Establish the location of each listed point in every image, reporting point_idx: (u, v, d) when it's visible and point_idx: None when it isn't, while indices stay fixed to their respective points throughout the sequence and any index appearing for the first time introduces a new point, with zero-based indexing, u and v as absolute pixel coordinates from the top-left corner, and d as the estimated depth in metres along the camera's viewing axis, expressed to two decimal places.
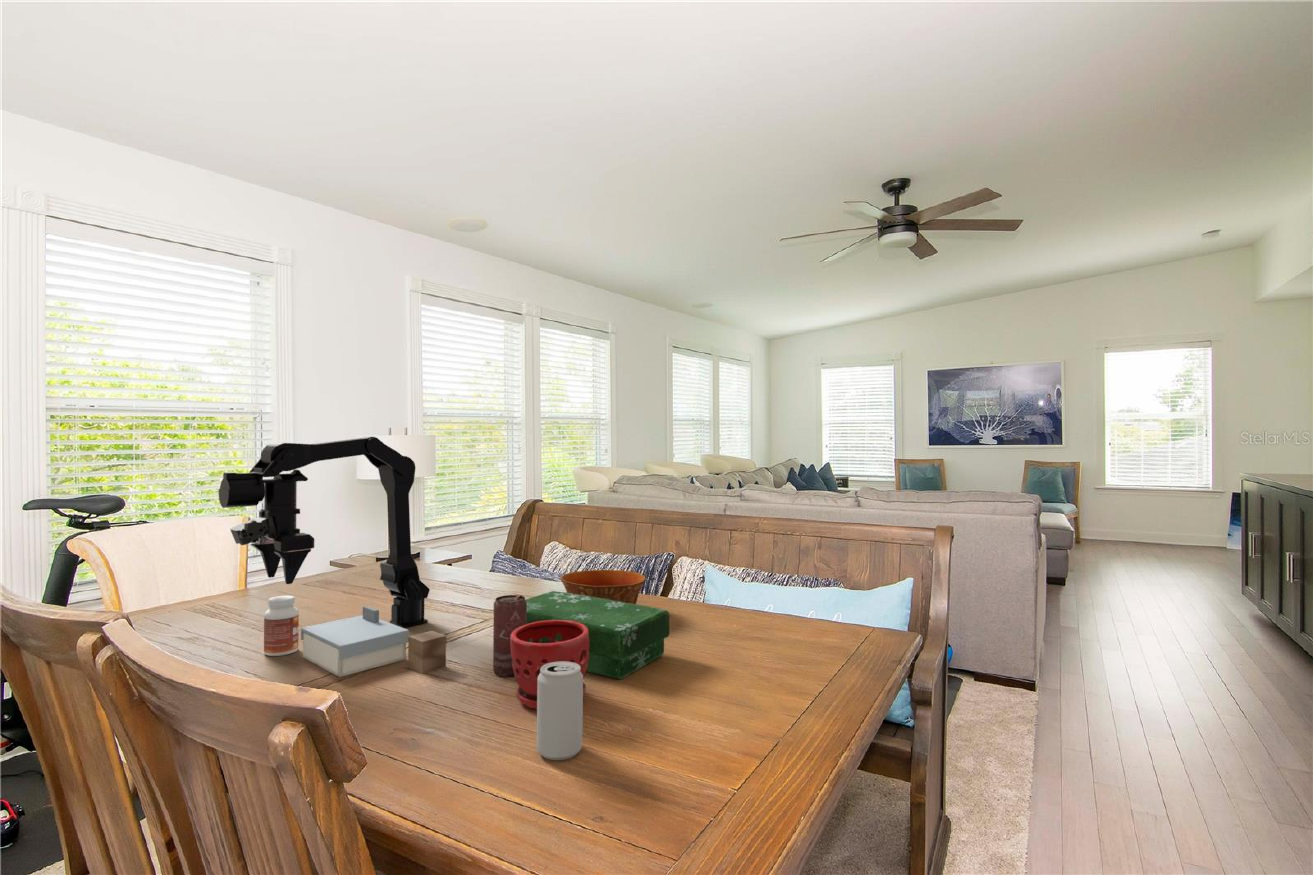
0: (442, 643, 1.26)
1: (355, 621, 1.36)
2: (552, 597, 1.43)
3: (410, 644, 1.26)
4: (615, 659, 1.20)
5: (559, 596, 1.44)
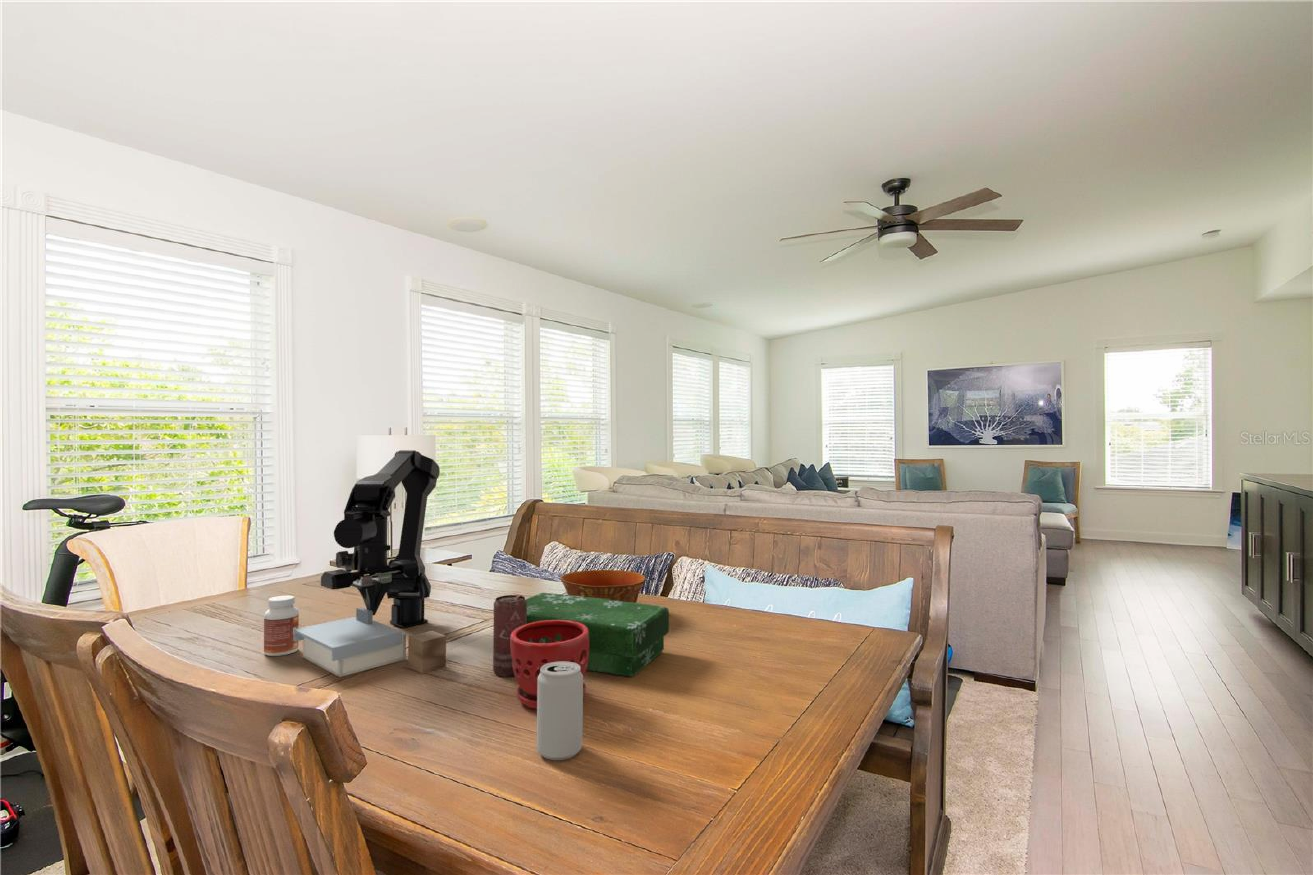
0: (442, 643, 1.26)
1: (348, 622, 1.35)
2: (545, 599, 1.41)
3: (410, 644, 1.26)
4: (627, 657, 1.21)
5: (551, 597, 1.43)
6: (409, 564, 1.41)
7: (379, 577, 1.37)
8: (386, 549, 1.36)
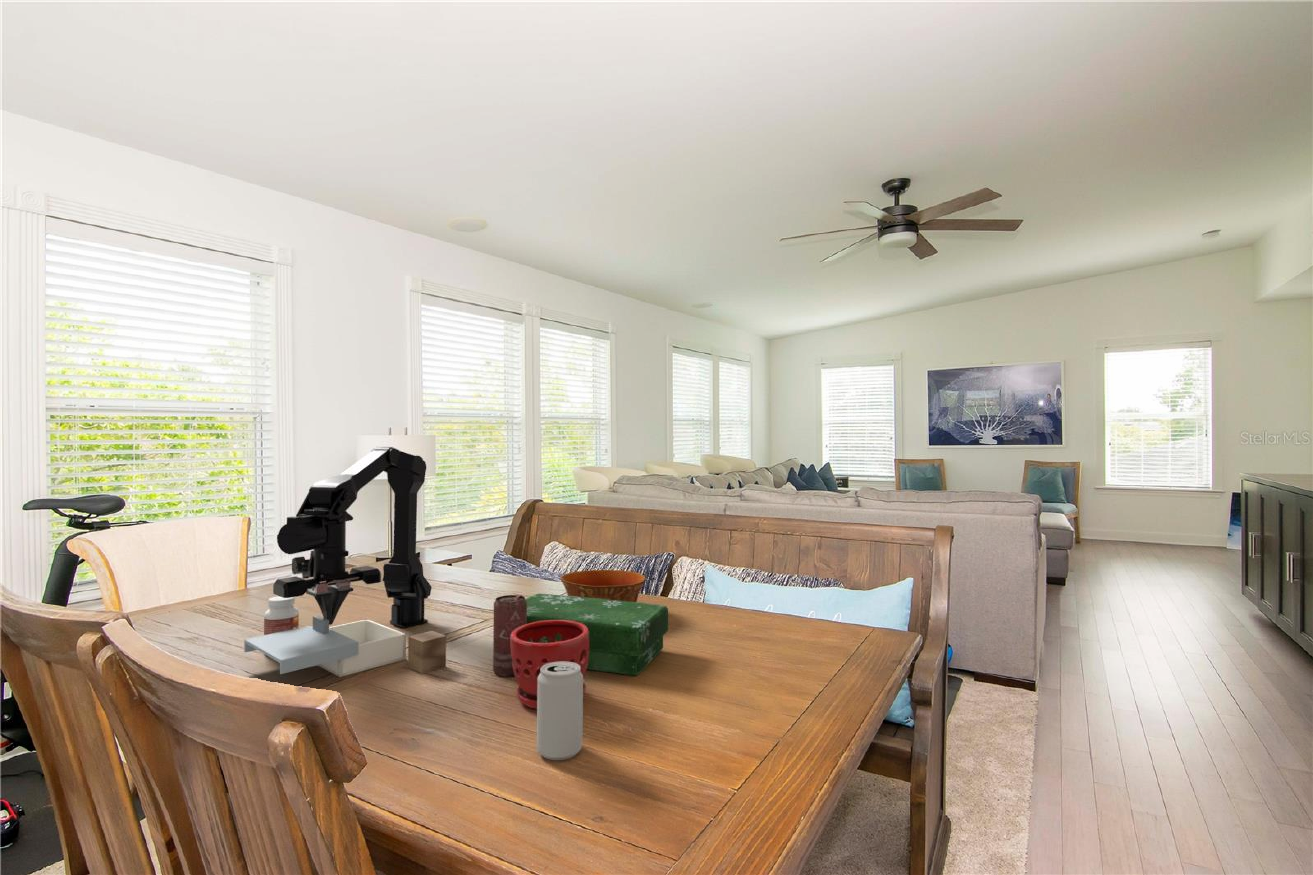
0: (442, 643, 1.26)
1: (304, 632, 1.28)
2: (543, 600, 1.41)
3: (410, 644, 1.26)
4: (632, 656, 1.22)
5: (549, 598, 1.42)
6: (369, 570, 1.34)
7: (337, 584, 1.31)
8: (344, 555, 1.30)
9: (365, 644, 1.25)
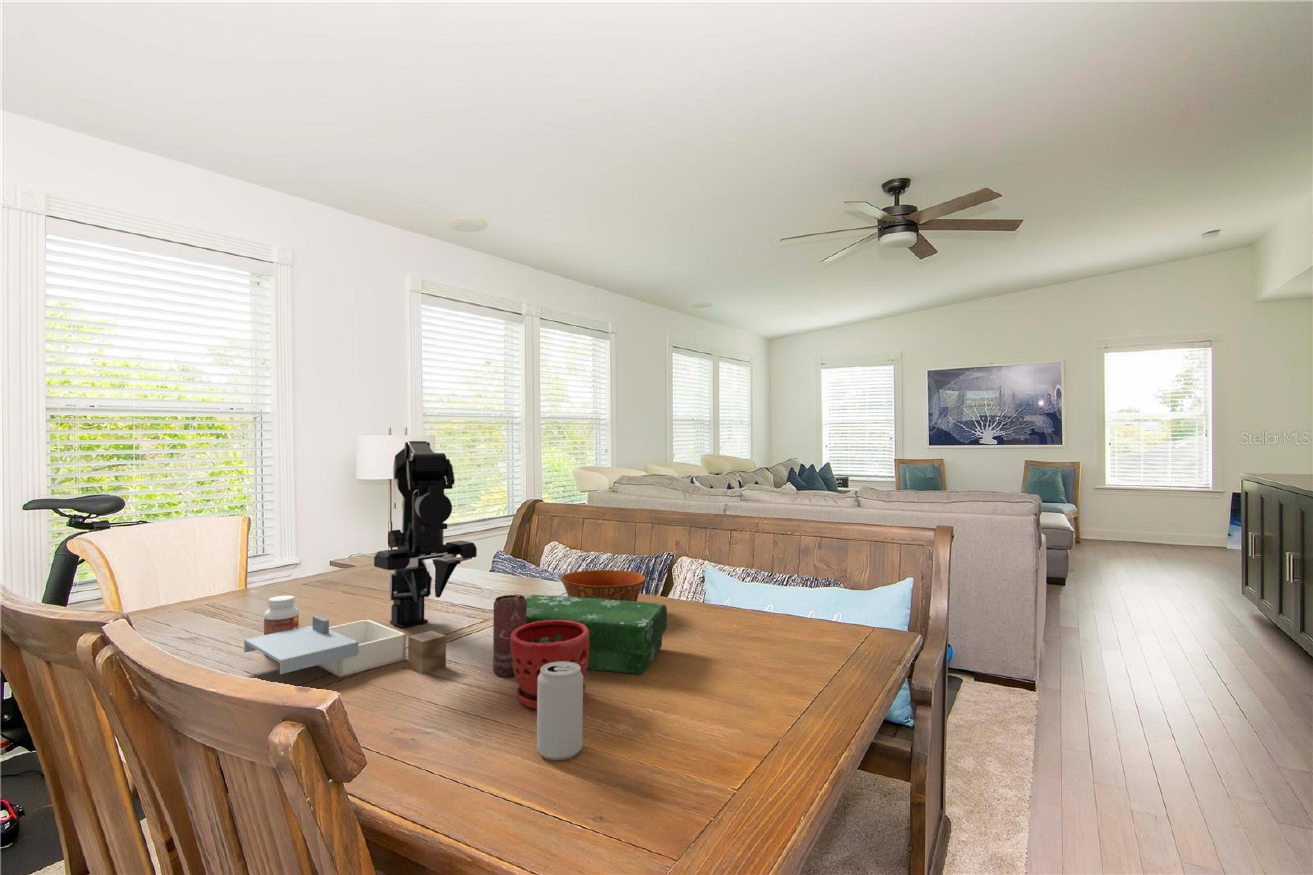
0: (442, 643, 1.26)
1: (304, 632, 1.28)
2: (540, 601, 1.40)
3: (410, 644, 1.26)
4: (638, 655, 1.23)
5: (545, 599, 1.41)
6: (466, 544, 1.30)
7: (444, 556, 1.28)
8: (443, 527, 1.26)
9: (365, 644, 1.25)
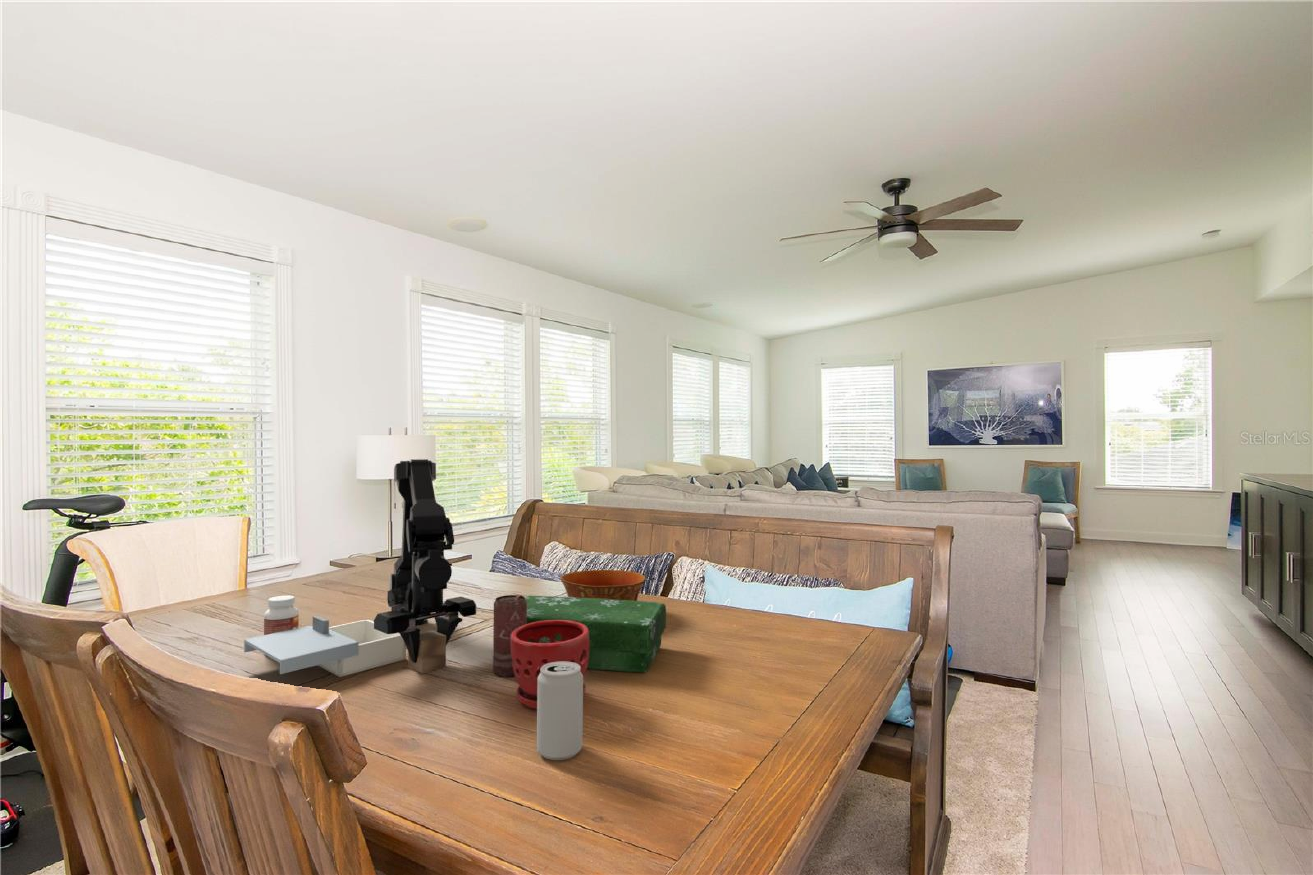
0: (442, 643, 1.26)
1: (304, 632, 1.28)
2: (538, 601, 1.39)
3: None
4: (641, 653, 1.23)
5: (544, 600, 1.41)
6: (465, 602, 1.30)
7: (446, 615, 1.29)
8: (442, 587, 1.26)
9: (365, 644, 1.25)
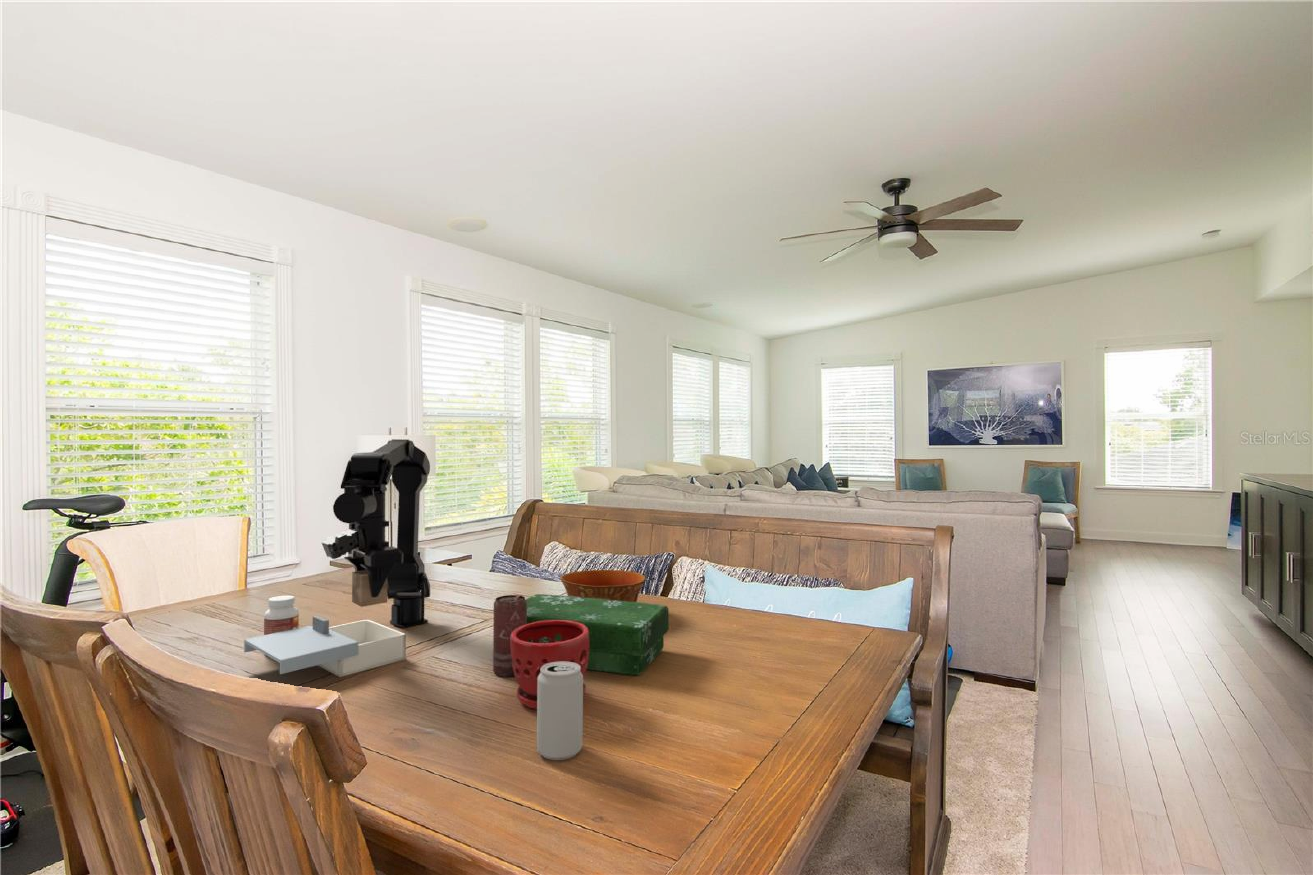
0: None
1: (304, 632, 1.28)
2: (543, 600, 1.40)
3: (365, 582, 1.28)
4: (634, 656, 1.22)
5: (548, 598, 1.42)
6: None
7: None
8: None
9: (365, 644, 1.25)
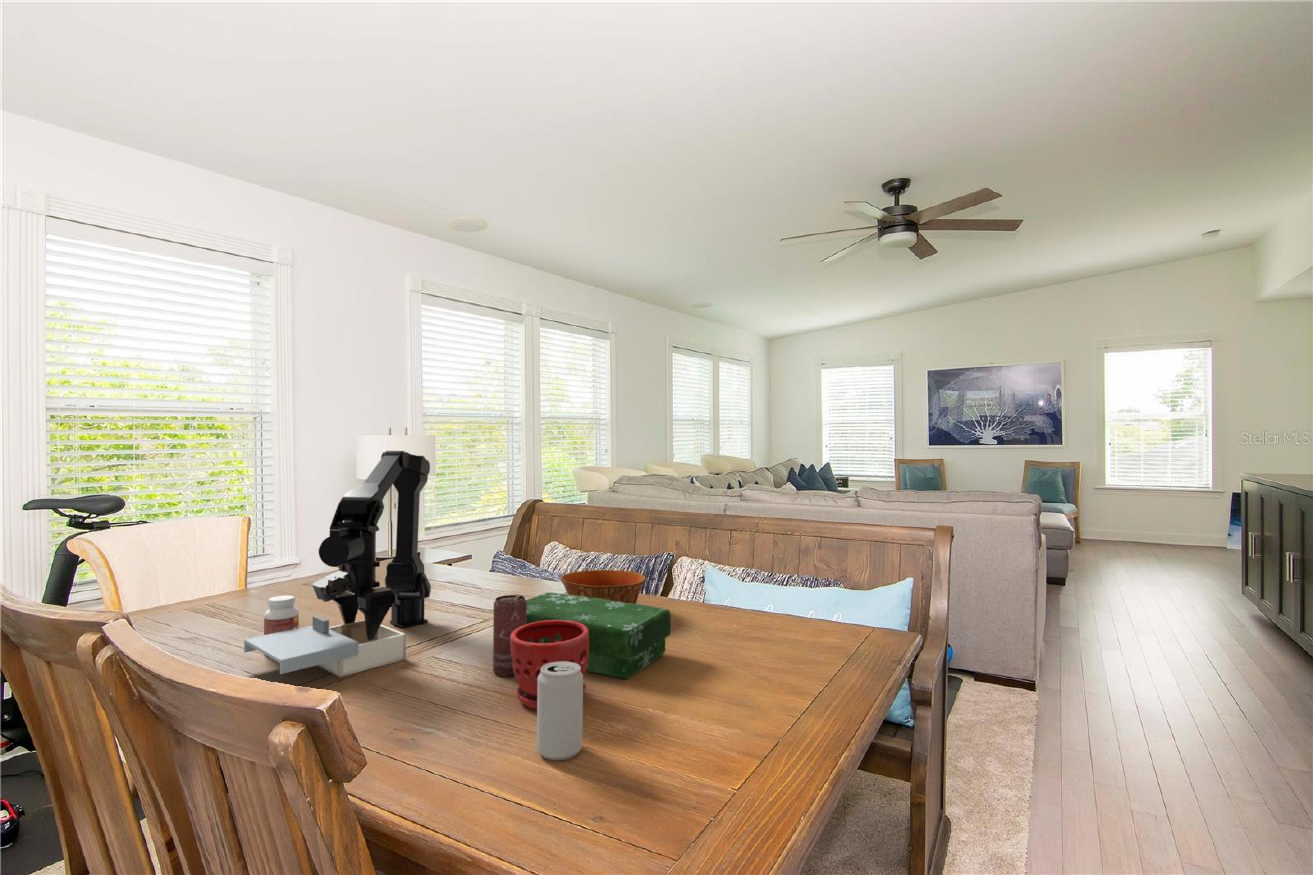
0: None
1: (304, 632, 1.28)
2: (549, 598, 1.42)
3: (356, 636, 1.29)
4: (622, 659, 1.20)
5: (556, 597, 1.43)
6: None
7: None
8: None
9: (365, 644, 1.25)
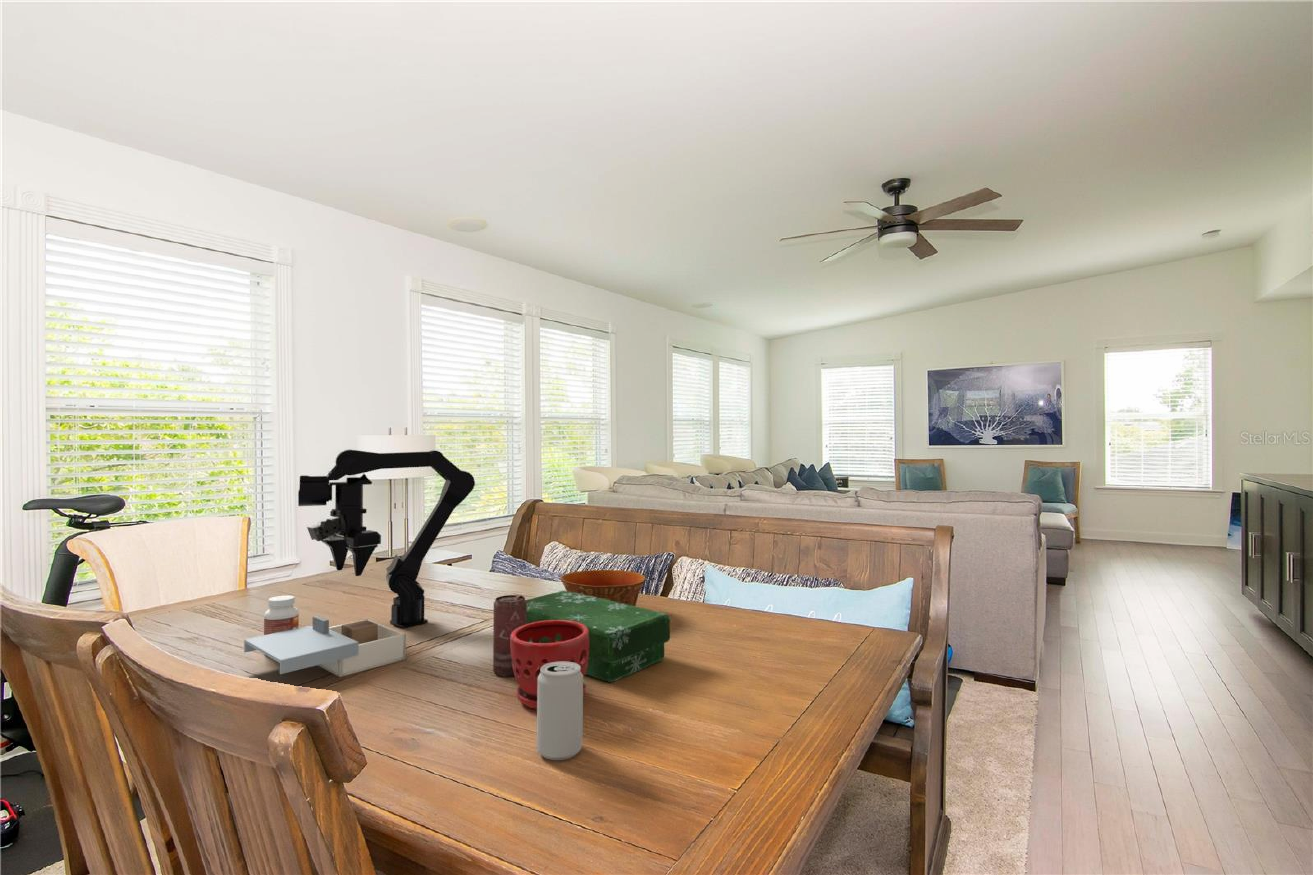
0: None
1: (304, 632, 1.28)
2: (559, 597, 1.43)
3: (356, 636, 1.29)
4: (605, 662, 1.19)
5: (566, 596, 1.44)
6: None
7: None
8: None
9: (365, 644, 1.25)
